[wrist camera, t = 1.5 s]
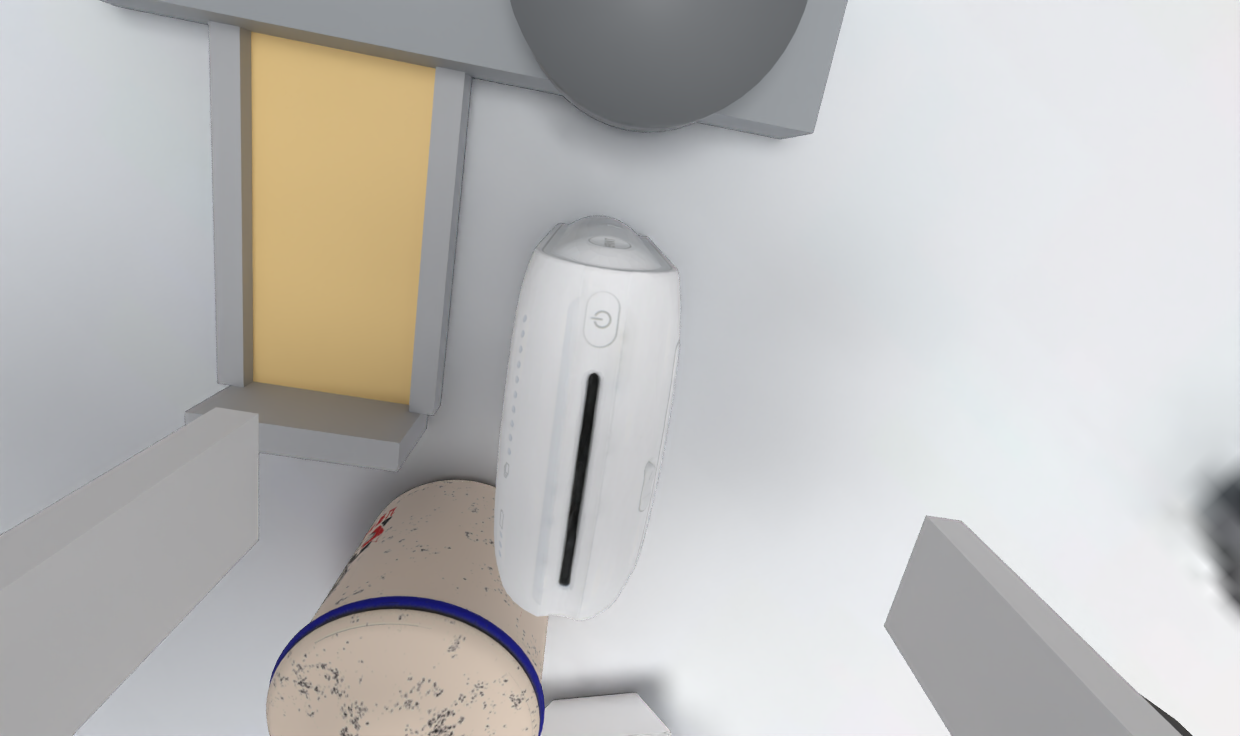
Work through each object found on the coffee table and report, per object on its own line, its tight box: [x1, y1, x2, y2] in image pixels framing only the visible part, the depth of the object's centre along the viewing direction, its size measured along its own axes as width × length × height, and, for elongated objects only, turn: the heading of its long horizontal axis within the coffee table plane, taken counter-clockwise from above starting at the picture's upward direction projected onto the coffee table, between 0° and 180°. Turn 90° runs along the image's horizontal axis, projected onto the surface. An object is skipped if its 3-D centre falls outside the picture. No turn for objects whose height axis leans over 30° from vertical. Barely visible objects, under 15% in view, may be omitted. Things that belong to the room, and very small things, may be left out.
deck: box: [100, 0, 848, 472], centre depth 20 cm, size 24×21×7 cm
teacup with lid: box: [266, 480, 548, 736], centre depth 23 cm, size 12×9×12 cm
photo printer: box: [494, 216, 681, 621], centre depth 19 cm, size 10×4×12 cm, turn 171°
